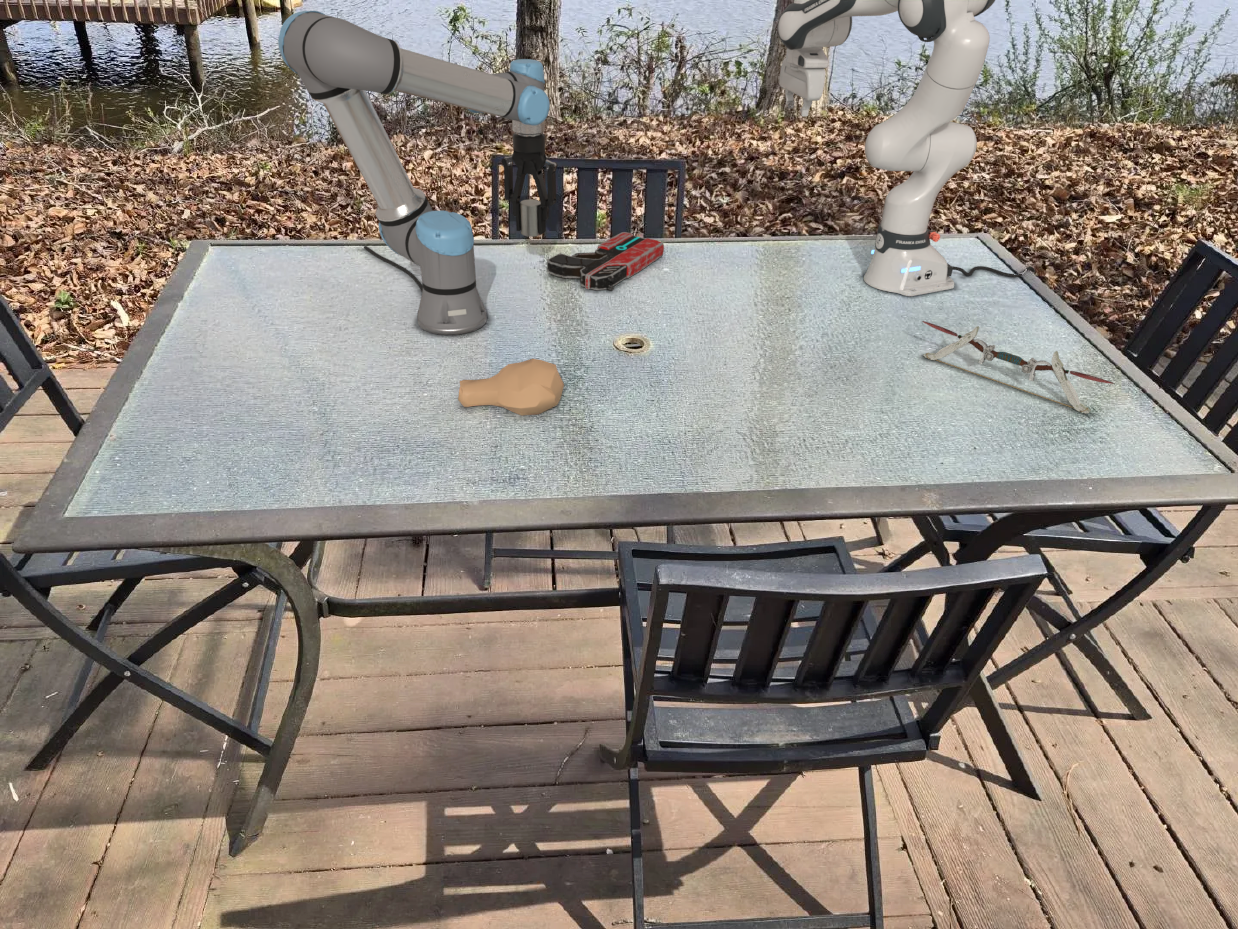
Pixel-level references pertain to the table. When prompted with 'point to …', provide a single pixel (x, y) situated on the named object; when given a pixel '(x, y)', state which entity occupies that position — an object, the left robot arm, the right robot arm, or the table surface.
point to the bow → (1026, 366)
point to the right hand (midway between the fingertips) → (796, 111)
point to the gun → (608, 261)
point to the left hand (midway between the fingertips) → (531, 230)
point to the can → (529, 217)
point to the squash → (516, 388)
